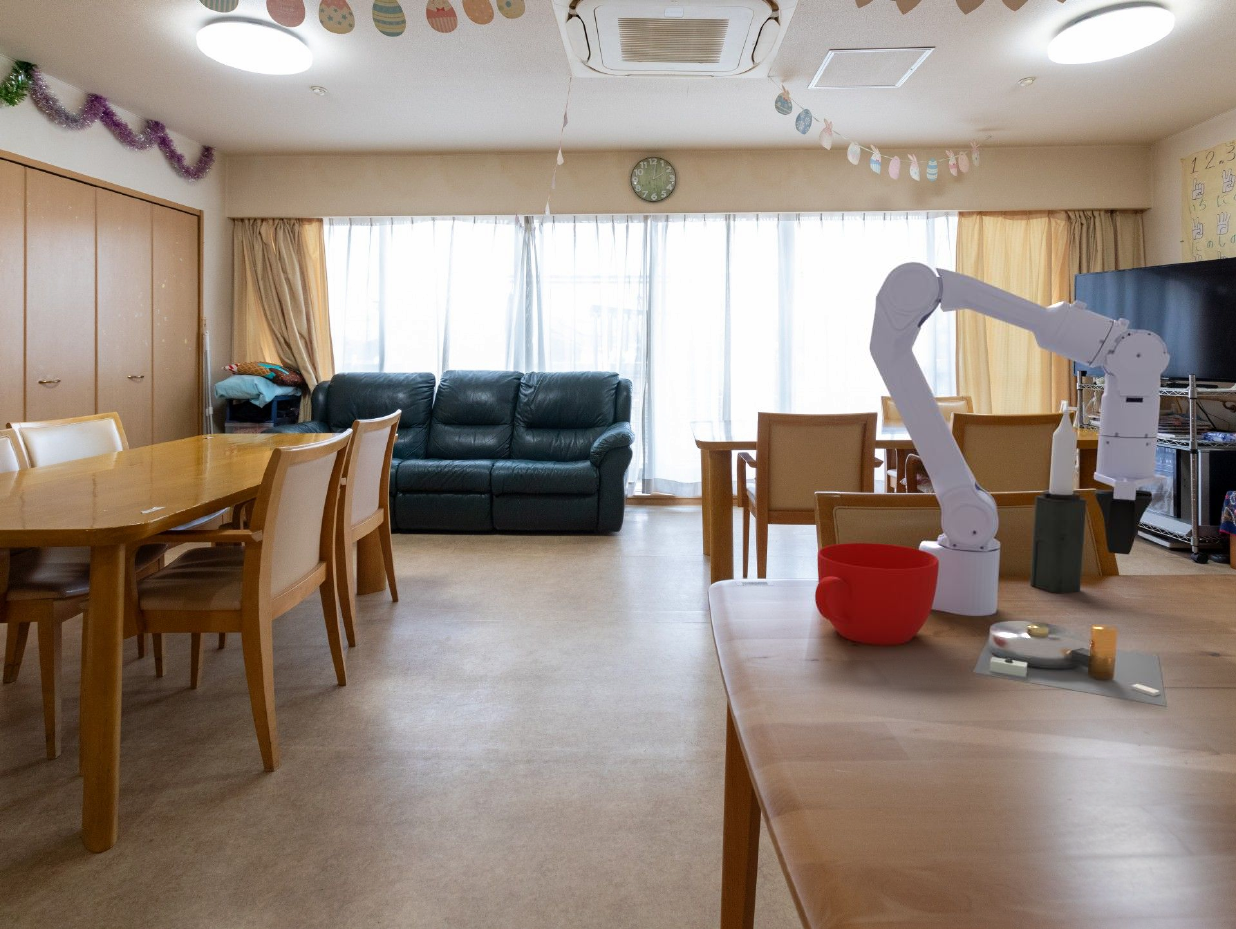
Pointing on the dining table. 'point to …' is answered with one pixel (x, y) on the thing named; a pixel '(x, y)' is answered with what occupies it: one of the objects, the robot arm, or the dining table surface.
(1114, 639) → the crank wheel
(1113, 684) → the stand
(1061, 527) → the black and white bottle
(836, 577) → the ceramic cup
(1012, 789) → the dining table surface
